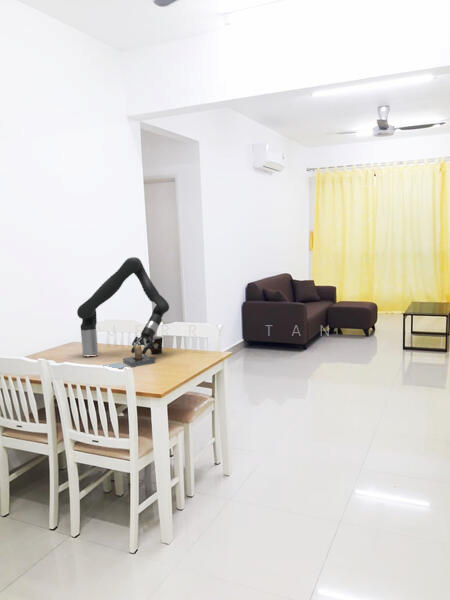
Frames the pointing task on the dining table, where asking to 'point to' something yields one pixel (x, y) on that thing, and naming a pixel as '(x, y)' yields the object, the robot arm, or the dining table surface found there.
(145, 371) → the dining table surface
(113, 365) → the slate pad
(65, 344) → the dining table surface
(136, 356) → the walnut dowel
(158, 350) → the coffee mug
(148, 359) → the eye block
